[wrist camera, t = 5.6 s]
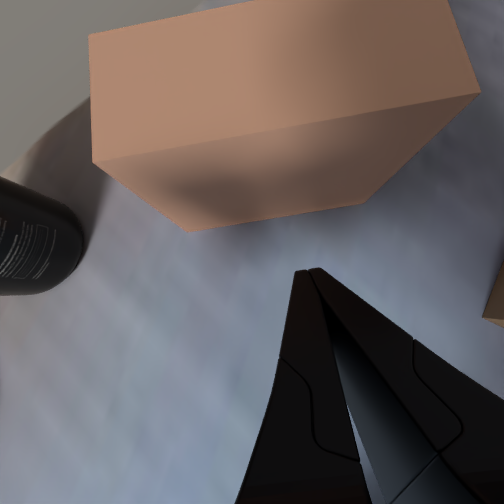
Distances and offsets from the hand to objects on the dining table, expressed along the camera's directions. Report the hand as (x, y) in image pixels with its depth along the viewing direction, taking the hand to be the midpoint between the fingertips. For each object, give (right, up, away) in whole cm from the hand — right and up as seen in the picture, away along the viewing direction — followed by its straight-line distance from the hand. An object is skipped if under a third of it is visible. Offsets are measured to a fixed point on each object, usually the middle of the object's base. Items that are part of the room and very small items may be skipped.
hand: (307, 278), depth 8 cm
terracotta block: (-1, +6, +9) cm, 10 cm away
